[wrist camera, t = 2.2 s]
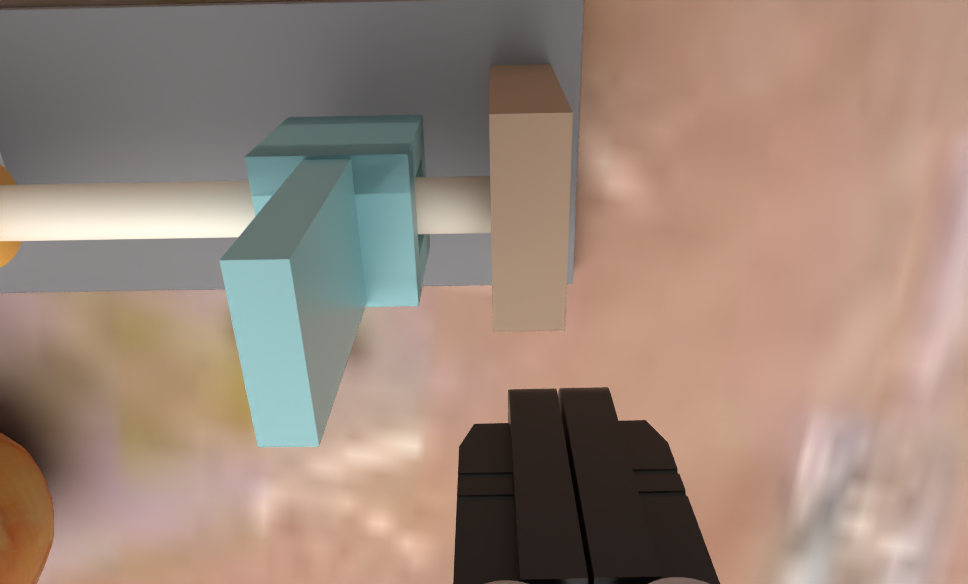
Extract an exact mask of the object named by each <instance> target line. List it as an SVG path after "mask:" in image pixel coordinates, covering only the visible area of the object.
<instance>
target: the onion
mask: <svg viewBox="0 0 968 584" xmlns="http://www.w3.org/2000/svg"><path fill="white" fill-rule="evenodd" d="M53 537H54V511H53V503H52V498H51V495H50V492H49V489H48V486H47V483H46V481H45V478H44V476H43V473H42V472H41V470H40V469H39V467H38V466H37V464H36V463H35V461H34V460H33V458H32V456H31V455H30V454H29V453H28V451H27V450H26V449H25V448H24V447H22V446H21V445H20V444H18V443H16V442H15V441H13V440H12V439H10V438H9V437H7V436H5V435H4V434H2V433H0V584H37V582H38V580H39V577H40V575H41V573H42V571H43V568H44V566H45V563H46V560H47V558H48V555H49V552H50V549H51V546H52V542H53Z"/></svg>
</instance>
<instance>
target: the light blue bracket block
mask: <svg viewBox="0 0 968 584" xmlns="http://www.w3.org/2000/svg"><path fill="white" fill-rule="evenodd" d="M245 162H246V167H247V173H248V179H249V184H250V190H251V196H252V201H253V207H254V213H255V218H254V219H253V220H252V221H251V223H250V224H249V225H248V226H247V227H246V229H245V230H244V231H243V232H242V233H241V235H240V236H239V237H238V238H237V240H236V241H235V242H234V243H233V244H232V246H231V247H230V248H229V249H228V250H227V252H226V253H225V254H224V255H223V257H222V258H221V259H220V260H219V261H220V266H221V271H222V276H223V281H224V285H225V290H226V295H227V300H228V305H229V310H230V315H231V319H232V324H233V329H234V334H235V339H236V344H237V349H238V353H239V358H240V363H241V368H242V373H243V378H244V383H245V387H246V392H247V397H248V402H249V407H250V412H251V416H252V421H253V426H254V431H255V436H256V441H257V446H258V447H319V445H320V442H321V439H322V436H323V433H324V430H325V427H326V424H327V421H328V418H329V415H330V412H331V409H332V406H333V403H334V400H335V397H336V394H337V391H338V388H339V385H340V382H341V379H342V376H343V373H344V370H345V367H346V364H347V361H348V358H349V355H350V352H351V349H352V346H353V343H354V340H355V337H356V334H357V331H358V328H359V325H360V322H361V319H362V316H363V313H364V310H365V307H389V306H419V301H420V296H421V290H422V285H423V280H424V275H425V270H426V264H427V259H428V254H429V249H430V234H418V228H417V213H416V198H415V184H414V180H415V177H426V168H425V151H424V134H423V118H422V115H374V116H323V117H288V118H287V119H286V120H284V121H283V122H282V123H281V124H280V125H279V126H278V127H277V128H276V129H275V130H274V131H272V132H271V133H270V134H269V135H268V136H267V137H266V138H265V139H264V140H263V141H262V142H260V143H259V144H258V145H257V146H256V147H255V148H254V149H253V150H252V151H251V152H250V153H248V154H247V155H246V156H245Z"/></svg>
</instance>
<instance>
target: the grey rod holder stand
mask: <svg viewBox="0 0 968 584" xmlns="http://www.w3.org/2000/svg"><path fill="white" fill-rule="evenodd" d="M583 8H584V0H324V1H279V2H234V3H190V4H145V5H100V6H56V7H11V8H0V293H26V292H89V291H152V290H216V289H225V285H224V281H223V276H222V271H221V266H220V261H219V260H220V259H221V258H222V257H223V255H224V254H225V253H226V252H227V250H228V249H229V248H230V247H231V246H232V244H233V243H234V242H235V241H236V240H237V238H238V237H239V236H240V235H241V233H242V232H243V231H244V230H245V229H246V227H247V226H248V225H249V224H250V223H251V221H252V220H253V219H254V218H255V213H254V207H253V201H252V196H251V190H250V184H249V179H248V173H247V167H246V162H245V156H246V155H247V154H248V153H250V152H251V151H252V150H253V149H254V148H255V147H256V146H257V145H258V144H259V143H260V142H262V141H263V140H264V139H265V138H266V137H267V136H268V135H269V134H270V133H271V132H272V131H274V130H275V129H276V128H277V127H278V126H279V125H280V124H281V123H282V122H283V121H284V120H286V119H287V118H288V117H323V116H374V115H422V118H423V134H424V151H425V168H426V177H415V180H414V184H415V198H416V213H417V228H418V234H430V249H429V254H428V259H427V264H426V270H425V275H424V280H423V285H422V286H469V285H492V305H493V332H526V331H565V326H566V297H567V284H573V267H574V241H575V215H576V189H577V164H578V138H579V112H580V86H581V60H582V34H583Z"/></svg>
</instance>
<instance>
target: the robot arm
mask: <svg viewBox="0 0 968 584" xmlns="http://www.w3.org/2000/svg"><path fill="white" fill-rule="evenodd" d="M453 584H720V582H719V580H718V577H717V575H716V572H715V569H714V567H713V564H712V561H711V558H710V556H709V553H708V550H707V548H706V545H705V542H704V539H703V537H702V534H701V531H700V529H699V526H698V523H697V520H696V518H695V515H694V512H693V510H692V507H691V504H690V501H689V499H688V496H686V493H685V488H684V485H683V482H682V480H681V477H680V474H678V472H677V466H676V463H675V461H674V458H673V455H672V453H671V450H670V447H669V444H668V442H667V441H666V440H665V439H664V438H663V437H662V436H661V435H660V434H659V433H658V432H657V431H656V430H655V429H654V428H653V427H652V426H651V425H650V424H649V423H648V422H647V421H646V420H636V421H618V418H617V415H616V411H615V408H614V404H613V400H612V397H611V393H610V390H609V388H608V387H603V388H560V389H559V393H558V394H557V390H556V389H513V390H508V423H495V424H474V425H473V427H472V428H471V430H470V431H469V433H468V434H467V436H466V437H465V439H464V440H463V442H462V443H461V445H460V446H459V465H458V488H457V512H456V535H455V558H454V582H453Z"/></svg>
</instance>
